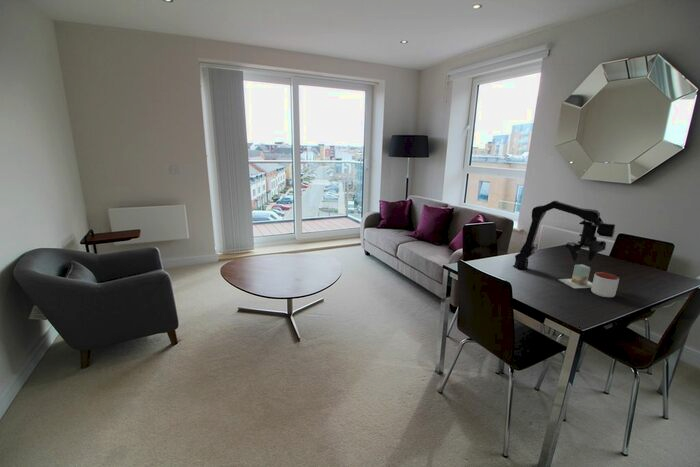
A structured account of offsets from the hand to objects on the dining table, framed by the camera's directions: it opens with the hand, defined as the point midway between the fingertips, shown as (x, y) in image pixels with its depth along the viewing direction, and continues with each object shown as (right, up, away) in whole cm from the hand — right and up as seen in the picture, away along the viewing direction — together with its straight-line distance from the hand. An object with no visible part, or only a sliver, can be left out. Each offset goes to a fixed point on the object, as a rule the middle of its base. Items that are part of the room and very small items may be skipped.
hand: (582, 261), depth 176 cm
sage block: (0, -8, +1) cm, 8 cm away
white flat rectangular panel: (0, -13, +2) cm, 13 cm away
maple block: (0, -12, +2) cm, 13 cm away
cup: (+3, -16, -10) cm, 19 cm away
